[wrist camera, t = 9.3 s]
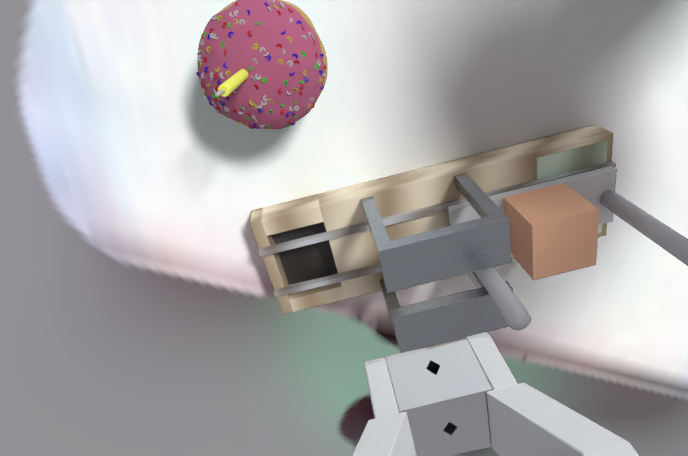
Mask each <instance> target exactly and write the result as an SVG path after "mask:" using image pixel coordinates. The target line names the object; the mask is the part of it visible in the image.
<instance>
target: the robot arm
mask: <svg viewBox="0 0 688 456" xmlns="http://www.w3.org/2000/svg"><path fill="white" fill-rule="evenodd" d="M386 362H387V363H386ZM387 366H388V367H387ZM388 370H389V371H388ZM365 372H366V376H367V382H368V387H369V392H370V397H371V402H372V407H373V412H374V418H375V419H371V420H368V423H367V425H366V427H365V429H364V431H363V433H362V436H361V438H360V440H359V442H358V444H357V446H356V449H355V451H354V453H353V455H352V456H451V455H454V454H459V453H464V452H469V451H473V450H478V449H483V448H488V447H492V449H493V450H494V451H495V452H497V453H498V454H499V455H500V456H639V455H638V454H637V452H636V451H635V450H634V448H633V447H632V446H631V444H630V443H629V442H628V441H626V440H624V439H622V438H621V437H619V436H617V435H615V434H613V433H612V432H610V431H608V430H607V429H605V428H603V427H601V426H599V425H598V424H596V423H594V422H592V421H591V420H589V419H587V418H585V417H583V416H582V415H580V414H578V413H576V412H575V411H573V410H571V409H569V408H568V407H566V406H564V405H562V404H561V403H559V402H557V401H556V400H554V399H552V398H550V397H548V396H547V395H545V394H543V393H541V392H540V391H538V390H536V389H534V388H532V387H531V386H529V385H527V384H526V383H521V384H517V382H516V380H515V378H514V377H513V375H512V373H511V372H510V370H509V368H508V366H507V365H506V363H505V361H504V359H503V357H502V356H501V354H500V352H499V351H498V349H497V347H496V345H495V344H494V342H493V340H492V338H491V337H490V335H489V334H488V333H486V332H484V333H480V334H476V335H472V336H469V337H466V338H461V339H457V340H453V341H449V342H445V343H441V344H437V345H433V346H429V347H425V348H422V349H418V350H413V351H409V352H404V353H399V354H395V355H390V356H386V359H385V357H383V358H378V359H374V360H369V361H365Z"/></svg>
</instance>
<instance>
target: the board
mask: <svg viewBox="0 0 688 456" xmlns="http://www.w3.org/2000/svg"><path fill="white" fill-rule="evenodd" d="M612 143H613V133H612V132H609V131H607V130H605V129H603V128H601V127H599V126H597V125H593V126H589V127H585V128H581V129H577V130H573V131H569V132H565V133H561V134H557V135H553V136H549V137H545V138H541V139H537V140H533V141H529V142H525V143H521V144H517V145H513V146H509V147H505V148H501V149H497V150H493V151H489V152H485V153H481V154H477V155H473V156H469V157H465V158H461V159H457V160H453V161H449V162H445V163H441V164H437V165H433V166H429V167H425V168H421V169H417V170H413V171H409V172H405V173H401V174H397V175H393V176H389V177H385V178H380V179H376V180H372V181H368V182H364V183H360V184H356V185H352V186H348V187H344V188H340V189H336V190H332V191H328V192H324V193H320V194H316V195H312V196H308V197H304V198H300V199H296V200H292V201H288V202H284V203H280V204H276V205H272V206H268V207H264V208H260V209H256V210H252V212H251V218H250V226H251V229H252V231H253V234H254V237H255V240H256V242H257V245H258V248H259V255H260V257H262V258H263V261H264V264H265V266H266V269H267V272H268V275H269V277H270V280H271V283H272V285H273V288H274V295H275V298H277V299H278V302H279V304H280V307H281V310H282V312H283V314H287V313H291V312H295V311H300V310H304V309H308V308H312V307H316V306H320V305H324V304H328V303H332V302H336V301H340V300H344V299H348V298H352V297H356V296H361V295H365V294H369V293H373V292H377V291H381V286H380V281H379V280H380V279H384V278H383V273H382V269H381V264H380V260H379V255H378V252H377V249H376V246H375V243H374V240H373V237H372V234H371V231H370V228H369V225H368V222H367V219H366V216H365V213H364V210H363V206H362V201H361V199H362V198H366V197H370V196H373V198H374V201H375V203H376V206H377V208H378V211H379V214H380V216H381V219H382V221H383V224H384V226H385V229H386V231H387V234H388V236H389V239H390V241H391V240H395V239H399V238H403V237H407V236H411V235H415V234H419V233H423V232H427V231H431V230H435V229H439V228H443V227H447V226H450V220H449V212H448V206H451V205H455V204H459V203H463V202H467V200H466V199H465V197H464V196H463V195H462V194H461V192H460V191H459V190H458V189H457V188H456V186H455V177H454V176H455V175H459V174H463V173H467V174H468V175H469V176H470V177H471V179H472V180H473V181H474V182H475V183H476V184H477V185H478V186H479V187H480V188H481V189H482V190H483V191H484V193H485V194H486V195H487V196H492V195H496V194H500V193H504V192H508V191H512V190H516V189H520V188H524V187H528V186H532V185H536V184H540V183H544V182H548V181H552V180H556V179H560V178H564V177H568V176H572V175H576V174H580V173H584V172H588V171H592V170H596V169H600V168H604V167H609V166H611V167H613V168H615V165H616V163H614V162H612V161H611V157H612ZM606 226H607V223H604V224H600V225H598V237H600V236H604V235H606ZM511 258H515V257H514V256H513V255H512V254H511Z"/></svg>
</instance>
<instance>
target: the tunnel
mask: <svg viewBox="0 0 688 456" xmlns="http://www.w3.org/2000/svg"><path fill="white" fill-rule="evenodd" d="M454 177H455V186H456V188H457V189H458V190H459V191H460V192H461V194H462V195H463V196H464V197H465V199H466V200H467V201H468V202H469V203H470V205H471V206H472V207H473V208H474V210H475V211H476V212H477V213H478V214H479V216H480V217H481V218H479V219H475V220H471V221H467V222H463V223H459V224H455V225H451V226H447V227H443V228H439V229H435V230H431V231H427V232H423V233H419V234H415V235H411V236H407V237H403V238H399V239H395V240H391V241H390V239H389V236H388V234H387V231H386V229H385V226H384V224H383V221H382V219H381V216H380V214H379V211H378V208H377V206H376V203H375V201H374V198H373V196H370V197H366V198H362V199H361V201H362V206H363V210H364V213H365V216H366V219H367V222H368V225H369V228H370V231H371V234H372V237H373V240H374V243H375V246H376V249H377V252H378V255H379V260H380V264H381V269H382V273H383V278H384V279H380V280H379V281H380V286H381V290H382V293H383V296H384V299H385V303H386V306H387V309H388V313H389V316H390V319H391V323H392V326H393V329H394V332H395V336H396V339H397V342H398V346H399V349H400V352H401V353H403V352H407V351H411V350H415V349H419V348H423V347H427V346H431V345H435V344H439V343H443V342H447V341H452V340H456V339H460V338H464V337H468V336H472V335H476V334H480V333H484V332H488V331H492V330H497V329H501V328H505V327H509V324H508V323H507V321H506V320H505V318H504V316H503V315H502V313H501V312H500V310H499V309H498V307H497V306H496V304H495V302H494V301H493V299H492V298H491V296H490V295H489V293H488V292H487V290H486V288H485V287H484V285H483V284H482V282H481V281H480V279H479V278H478V276H477V274H476V273H475V271H478V270H482V269H486V268H490V267H495V266H499V265H503V264H507V263H511V244H510V223H509V218H508V217H507V216H506V215H505V214H504V213H503V212H502V211H501V210H500V209H499V208H498V207H497V205H496V204H495V203H494V202H493V201H492V200H491V199H490V198H489V197H488V196H487V195H486V194H485V193H484V191H483V190H482V189H481V188H480V187H479V186H478V185H477V184H476V183H475V182H474V181H473V180H472V179H471V177H470V176H469V175H468V174H467V173H463V174H459V175H455V176H454ZM466 273H468V274H469V276H470V277H471V279H472V281H473V282H474V284H475V286H476V287H477V289H473V290H469V291H465V292H461V293H457V294H453V295H448V296H444V297H440V298H436V299H432V300H428V301H424V302H420V303H416V304H412V305H408V306H404V307H400V306H399V303H398V300H397V297H396V294H395V291H397V290H401V289H405V288H409V287H413V286H417V285H421V284H426V283H430V282H434V281H438V280H442V279H446V278H450V277H454V276H458V275H462V274H466ZM505 282H506V283H507V285H508V286H509V288H510V289H511V290H512V292H513V289H512V287H511V286H510V285H509V283H508V282H507V281H505Z"/></svg>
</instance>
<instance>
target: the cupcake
mask: <svg viewBox="0 0 688 456" xmlns="http://www.w3.org/2000/svg"><path fill="white" fill-rule="evenodd" d="M197 54H198V72H197V76H198V77H199V79H200V83H201V87H202V90H203V92H204V94H205V95H204V98H205V97H206V98H205V99H206V100H207V99H208V101H209V104H210V105H212V106H213V107H214V108H215V109H216V111H217V112H218V113H221V114H223V115H225V116H227V117H229V118H231V119H233V120H235V121H237V123H240V124H244V125H246V126H249V128H251V129H253V128H257V129H270V130H273V129H281V128H284V127H289V126H290V125H294V124H295V122H296V121H298V120H299V119H301V118H302V117H304V116H305V115H306V114H308V113H309V112H310V110H311V109H312V108H314V104H315V103H316V101H317V99H318V97H319V96H320V94H321V92H322V90H323V88H324V85H325V82H326V78H327V57H326V53H325V49H324V47H323V44H322V42H321V40H320V38H319V36H318V34H317V32H316V30H315V28H314V27H313V24H312V22H311V20H310V19H309V18H308V16H307V15H306V14H305V13H304V12H303V11H302V10H301V9H299V8H298V7H297V6H295V5H293V4H291V3H289V2H286V1H282V0H236V1H235V2H233V3H231V4H229V5H228V6H227V7H225V8H224V9H223V10H221V11H220V12H219V13H218V14H216V15H214V16H212V18H211V19H210V21H209V22H208V24H207V26H206V28H205V30H204V32H203V33H202V36H201V39H200V43H199V48H198V53H197ZM198 74H199V75H198ZM293 123H294V124H293Z"/></svg>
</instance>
